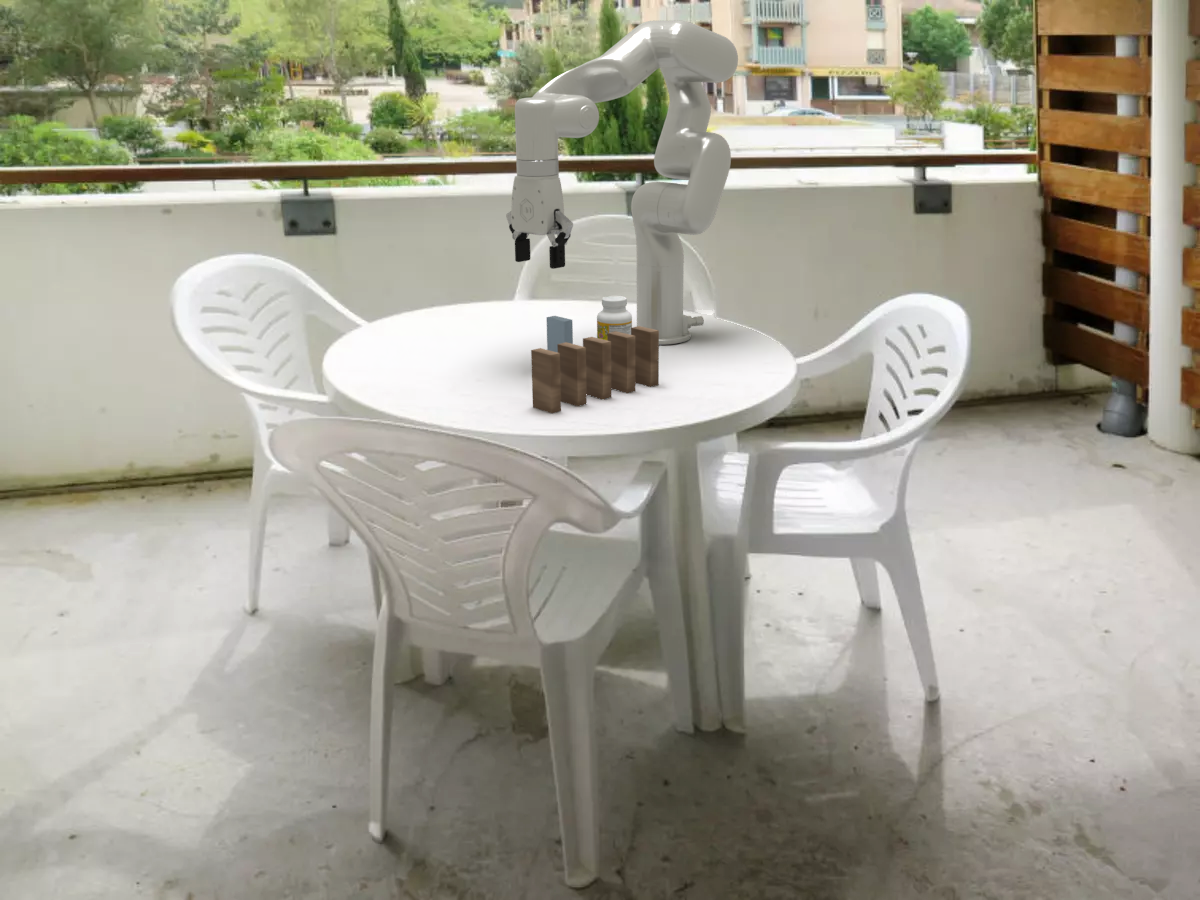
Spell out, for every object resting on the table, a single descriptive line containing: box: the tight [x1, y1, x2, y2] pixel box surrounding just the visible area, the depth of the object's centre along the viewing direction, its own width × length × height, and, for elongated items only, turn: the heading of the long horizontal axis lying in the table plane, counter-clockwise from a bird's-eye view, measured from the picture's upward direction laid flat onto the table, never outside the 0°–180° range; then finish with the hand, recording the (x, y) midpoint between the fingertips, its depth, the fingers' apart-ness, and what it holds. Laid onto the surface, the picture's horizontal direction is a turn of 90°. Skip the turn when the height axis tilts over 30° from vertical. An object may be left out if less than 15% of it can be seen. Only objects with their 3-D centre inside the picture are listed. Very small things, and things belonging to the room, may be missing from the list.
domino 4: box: [582, 336, 612, 400], centre depth 225 cm, size 2×5×10 cm, turn 42°
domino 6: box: [631, 325, 660, 388], centre depth 232 cm, size 2×5×10 cm, turn 42°
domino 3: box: [557, 342, 588, 407], centre depth 221 cm, size 2×5×10 cm, turn 42°
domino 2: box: [546, 315, 574, 353], centre depth 241 cm, size 2×5×10 cm, turn 42°
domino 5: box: [607, 331, 636, 394], centre depth 229 cm, size 2×5×10 cm, turn 42°
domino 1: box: [530, 347, 562, 414], centre depth 217 cm, size 2×5×10 cm, turn 42°
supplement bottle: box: [596, 295, 633, 340], centre depth 245 cm, size 7×7×13 cm
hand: (540, 264), depth 237 cm, fingers open, 9 cm apart
